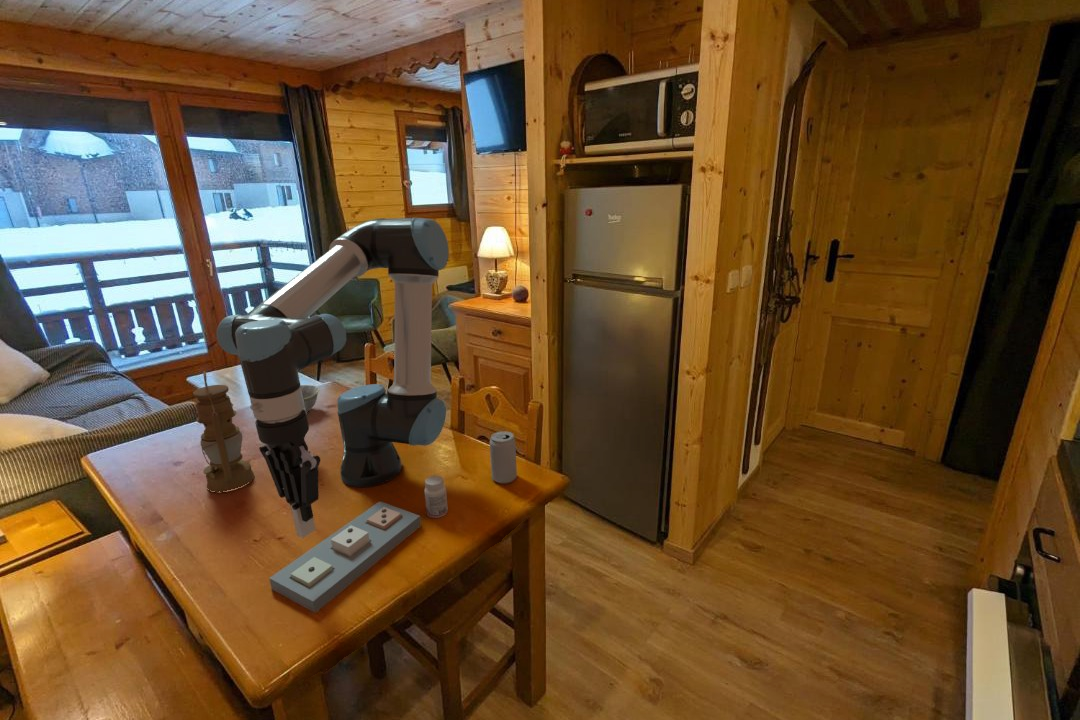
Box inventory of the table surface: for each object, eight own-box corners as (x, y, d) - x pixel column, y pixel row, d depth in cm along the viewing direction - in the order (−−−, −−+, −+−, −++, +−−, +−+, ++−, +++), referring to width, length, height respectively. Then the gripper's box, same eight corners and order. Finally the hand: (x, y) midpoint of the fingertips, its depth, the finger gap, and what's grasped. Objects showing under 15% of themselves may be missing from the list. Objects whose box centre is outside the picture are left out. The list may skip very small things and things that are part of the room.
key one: (311, 595, 88) (308, 582, 87) (293, 585, 91) (290, 572, 90) (334, 577, 92) (331, 564, 92) (316, 568, 95) (313, 556, 94)
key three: (385, 537, 103) (383, 525, 102) (368, 530, 106) (366, 518, 105) (402, 523, 107) (400, 512, 107) (385, 517, 110) (383, 506, 109)
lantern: (196, 481, 127) (167, 371, 118) (239, 464, 135) (215, 360, 125) (221, 501, 118) (191, 384, 109) (265, 482, 126) (241, 371, 117)
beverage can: (513, 486, 122) (511, 442, 118) (488, 484, 123) (486, 440, 119) (519, 473, 128) (518, 431, 124) (495, 470, 129) (493, 429, 125)
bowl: (259, 422, 161) (255, 401, 158) (290, 403, 176) (287, 383, 173) (304, 425, 158) (300, 403, 156) (331, 405, 173) (328, 385, 171)
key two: (350, 558, 95) (348, 546, 95) (332, 550, 98) (330, 538, 97) (370, 543, 100) (368, 531, 99) (352, 536, 102) (350, 524, 101)
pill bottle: (428, 506, 114) (424, 474, 112) (448, 505, 115) (446, 473, 112) (425, 519, 110) (421, 486, 107) (447, 517, 110) (444, 484, 108)
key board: (315, 613, 85) (312, 601, 84) (271, 589, 91) (269, 578, 90) (421, 525, 108) (419, 515, 107) (381, 510, 113) (379, 501, 112)
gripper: (234, 415, 81) (264, 534, 89) (285, 431, 75) (312, 557, 83) (276, 398, 87) (301, 511, 95) (326, 412, 81) (348, 531, 89)
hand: (306, 532), depth 89 cm, fingers closed
